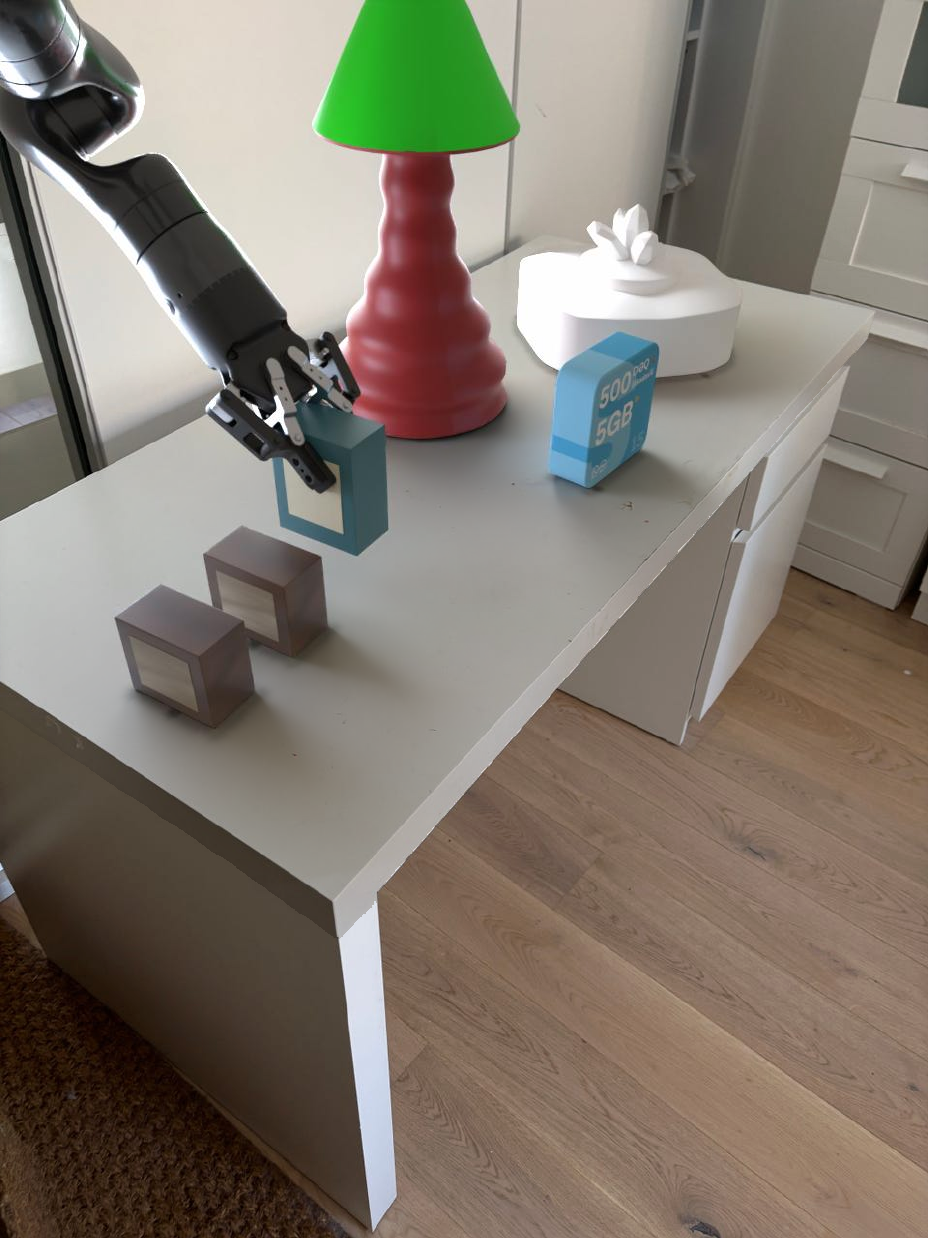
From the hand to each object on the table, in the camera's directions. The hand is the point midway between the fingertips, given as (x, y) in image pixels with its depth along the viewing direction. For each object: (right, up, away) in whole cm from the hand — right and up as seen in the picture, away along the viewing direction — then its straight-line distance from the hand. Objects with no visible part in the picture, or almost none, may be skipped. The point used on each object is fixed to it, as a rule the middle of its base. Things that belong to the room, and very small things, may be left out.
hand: (348, 472), depth 77 cm
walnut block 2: (-6, -12, +1) cm, 14 cm away
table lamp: (+4, +13, +32) cm, 35 cm away
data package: (+23, +4, +22) cm, 32 cm away
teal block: (-2, -4, +5) cm, 6 cm away
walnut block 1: (-11, -17, -5) cm, 21 cm away
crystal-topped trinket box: (+30, +25, +47) cm, 61 cm away
